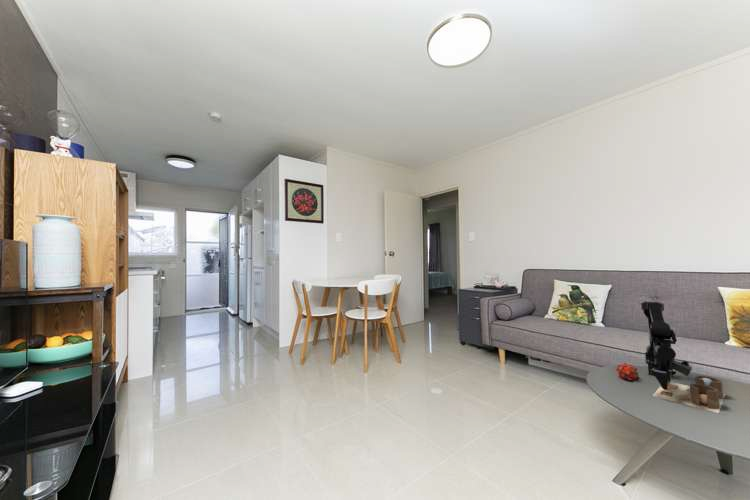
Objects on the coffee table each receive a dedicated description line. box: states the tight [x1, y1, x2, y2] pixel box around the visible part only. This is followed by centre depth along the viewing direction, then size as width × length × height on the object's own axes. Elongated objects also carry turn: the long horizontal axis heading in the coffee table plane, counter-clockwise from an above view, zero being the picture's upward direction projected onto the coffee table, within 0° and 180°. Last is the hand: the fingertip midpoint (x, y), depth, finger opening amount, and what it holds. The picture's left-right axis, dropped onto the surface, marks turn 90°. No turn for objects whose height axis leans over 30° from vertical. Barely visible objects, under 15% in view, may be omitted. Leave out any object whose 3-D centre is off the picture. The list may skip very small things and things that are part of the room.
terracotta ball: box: [659, 381, 672, 390], centre depth 127 cm, size 4×4×4 cm
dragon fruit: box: [615, 362, 640, 381], centre depth 145 cm, size 8×8×12 cm
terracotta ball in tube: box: [699, 394, 708, 405], centre depth 117 cm, size 4×4×4 cm
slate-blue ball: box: [701, 378, 711, 386], centre depth 125 cm, size 4×4×4 cm
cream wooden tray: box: [652, 375, 726, 414], centre depth 125 cm, size 19×26×8 cm
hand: (666, 388), depth 127 cm, fingers closed on terracotta ball, 4 cm apart
